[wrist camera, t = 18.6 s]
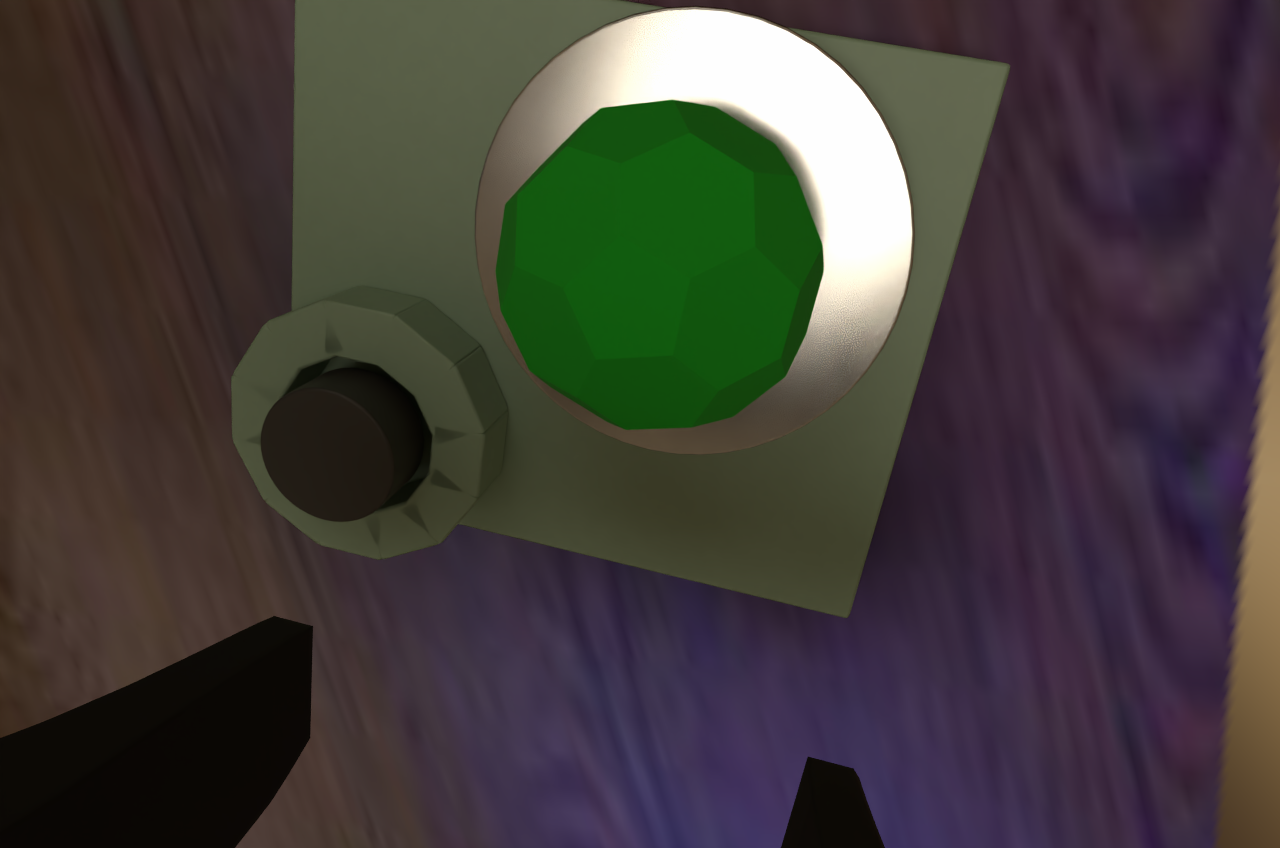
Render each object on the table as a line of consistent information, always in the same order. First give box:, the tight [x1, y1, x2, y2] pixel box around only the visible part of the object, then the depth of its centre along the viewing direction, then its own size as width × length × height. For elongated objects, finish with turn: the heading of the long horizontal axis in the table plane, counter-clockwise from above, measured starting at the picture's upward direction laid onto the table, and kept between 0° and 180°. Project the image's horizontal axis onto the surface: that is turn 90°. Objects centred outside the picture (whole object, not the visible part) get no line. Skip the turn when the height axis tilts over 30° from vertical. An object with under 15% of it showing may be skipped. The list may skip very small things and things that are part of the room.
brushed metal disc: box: [475, 6, 915, 455], centre depth 16 cm, size 8×8×1 cm
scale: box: [231, 0, 1010, 618], centre depth 19 cm, size 14×12×4 cm
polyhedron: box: [495, 99, 824, 430], centre depth 14 cm, size 5×5×5 cm
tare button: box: [261, 368, 424, 522], centre depth 19 cm, size 3×3×2 cm
